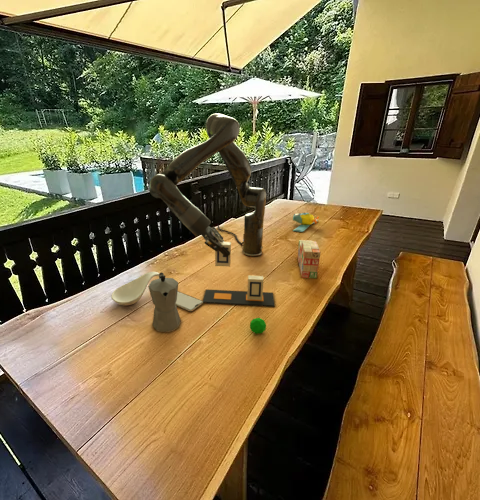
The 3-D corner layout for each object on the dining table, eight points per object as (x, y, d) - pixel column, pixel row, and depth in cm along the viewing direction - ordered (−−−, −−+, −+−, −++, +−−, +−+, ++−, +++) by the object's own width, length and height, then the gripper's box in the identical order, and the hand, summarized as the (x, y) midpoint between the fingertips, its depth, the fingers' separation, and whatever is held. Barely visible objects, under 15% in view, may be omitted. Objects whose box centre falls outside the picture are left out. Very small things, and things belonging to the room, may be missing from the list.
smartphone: (173, 289, 119) (203, 301, 110) (174, 291, 119) (203, 302, 111) (160, 297, 113) (191, 310, 105) (160, 299, 114) (191, 312, 105)
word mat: (202, 303, 111) (202, 301, 110) (205, 290, 119) (205, 289, 119) (274, 306, 107) (274, 305, 107) (272, 293, 116) (272, 292, 115)
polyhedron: (254, 325, 98) (255, 312, 96) (268, 331, 95) (269, 318, 93) (246, 332, 94) (247, 320, 93) (260, 339, 91) (261, 326, 90)
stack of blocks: (297, 257, 147) (299, 233, 142) (310, 258, 146) (313, 234, 141) (301, 277, 127) (304, 251, 123) (317, 278, 126) (320, 251, 121)
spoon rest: (125, 314, 105) (122, 296, 102) (106, 302, 112) (103, 285, 110) (173, 287, 122) (172, 271, 119) (154, 279, 129) (153, 264, 126)
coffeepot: (183, 334, 95) (180, 283, 88) (153, 338, 93) (148, 288, 86) (177, 307, 108) (174, 262, 101) (150, 311, 107) (146, 265, 100)
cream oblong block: (215, 262, 112) (215, 241, 109) (230, 263, 111) (231, 241, 108) (215, 266, 109) (215, 244, 106) (230, 267, 108) (230, 245, 105)
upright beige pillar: (247, 295, 114) (248, 275, 111) (261, 295, 113) (263, 275, 110) (247, 299, 111) (248, 279, 108) (262, 300, 110) (263, 280, 107)
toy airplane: (309, 219, 174) (285, 216, 183) (308, 233, 177) (284, 229, 186) (325, 209, 194) (302, 206, 203) (324, 222, 197) (301, 218, 206)
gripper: (198, 218, 97) (235, 254, 100) (204, 207, 110) (237, 239, 113) (183, 233, 100) (219, 268, 103) (190, 221, 113) (222, 252, 116)
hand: (228, 253), depth 108 cm, fingers closed on cream oblong block, 3 cm apart
